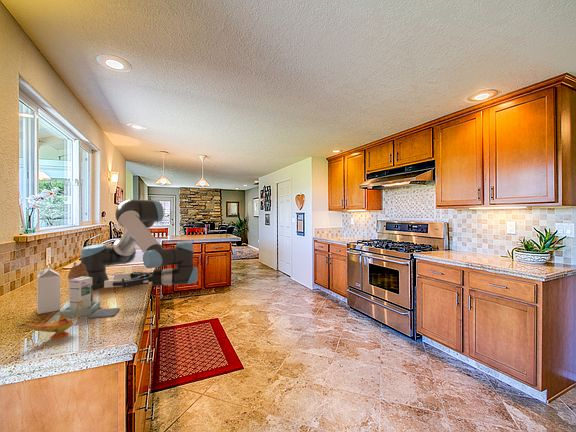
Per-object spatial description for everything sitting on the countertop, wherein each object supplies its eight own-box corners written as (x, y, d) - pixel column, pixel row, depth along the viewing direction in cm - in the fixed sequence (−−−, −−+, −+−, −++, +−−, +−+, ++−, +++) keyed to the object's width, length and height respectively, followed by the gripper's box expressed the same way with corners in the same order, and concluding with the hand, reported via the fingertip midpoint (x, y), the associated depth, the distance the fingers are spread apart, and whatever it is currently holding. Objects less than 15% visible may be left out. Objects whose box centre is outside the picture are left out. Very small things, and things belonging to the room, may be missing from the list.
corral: (71, 308, 119) (71, 303, 119) (100, 306, 122) (100, 301, 122) (59, 317, 109) (59, 311, 109) (90, 315, 112) (90, 309, 112)
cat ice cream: (63, 300, 130) (63, 263, 130) (80, 296, 137) (80, 260, 137) (77, 302, 127) (77, 264, 127) (93, 297, 135) (93, 261, 135)
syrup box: (80, 315, 112) (80, 279, 112) (68, 313, 114) (68, 279, 113) (92, 310, 118) (93, 276, 118) (81, 309, 119) (81, 276, 119)
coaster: (95, 311, 117) (95, 309, 117) (119, 309, 120) (119, 307, 120) (87, 318, 108) (87, 317, 108) (113, 316, 111) (113, 315, 111)
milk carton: (58, 306, 122) (58, 264, 122) (60, 310, 117) (60, 266, 117) (36, 310, 117) (37, 266, 117) (37, 314, 112) (37, 268, 112)
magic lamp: (14, 343, 87) (14, 309, 87) (82, 326, 101) (82, 296, 101) (17, 350, 83) (17, 314, 83) (88, 331, 97) (88, 300, 97)
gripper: (158, 292, 114) (99, 297, 107) (165, 279, 138) (117, 282, 131) (158, 274, 114) (99, 278, 107) (165, 264, 138) (117, 266, 131)
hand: (109, 280), depth 119 cm, fingers open, 13 cm apart
